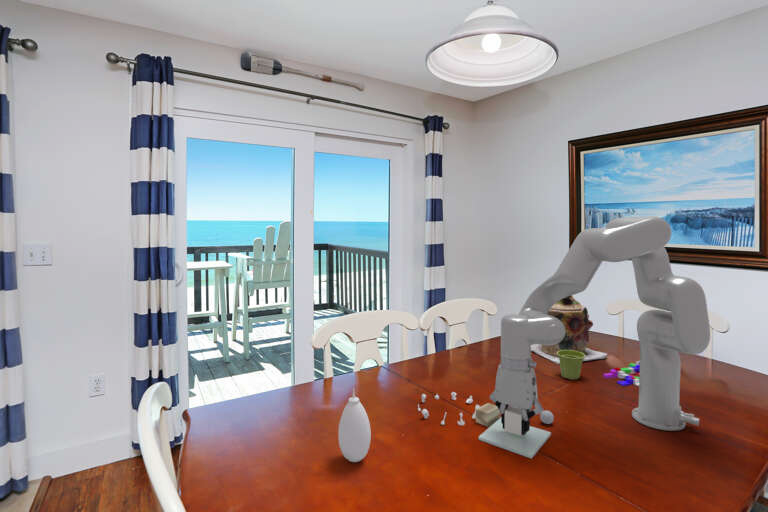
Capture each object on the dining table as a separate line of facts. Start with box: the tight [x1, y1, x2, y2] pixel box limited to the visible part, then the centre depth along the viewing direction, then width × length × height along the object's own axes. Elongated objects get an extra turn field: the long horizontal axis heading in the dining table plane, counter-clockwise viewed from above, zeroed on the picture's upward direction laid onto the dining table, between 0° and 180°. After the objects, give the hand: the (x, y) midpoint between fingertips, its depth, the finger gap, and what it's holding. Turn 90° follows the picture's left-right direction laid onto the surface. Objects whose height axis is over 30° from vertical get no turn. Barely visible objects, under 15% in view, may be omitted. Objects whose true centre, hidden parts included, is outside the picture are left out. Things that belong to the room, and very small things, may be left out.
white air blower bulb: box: [337, 387, 372, 463], centre depth 98 cm, size 8×8×18 cm
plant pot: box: [557, 350, 585, 380], centre depth 149 cm, size 9×9×9 cm
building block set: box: [602, 360, 640, 387], centre depth 147 cm, size 25×20×4 cm
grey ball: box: [539, 409, 555, 425], centre depth 115 cm, size 4×4×4 cm
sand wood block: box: [475, 402, 501, 428], centre depth 117 cm, size 4×6×4 cm, turn 131°
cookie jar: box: [531, 295, 608, 365], centre depth 175 cm, size 25×25×32 cm
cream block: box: [505, 405, 523, 436], centre depth 108 cm, size 4×4×6 cm
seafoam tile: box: [478, 417, 552, 459], centre depth 108 cm, size 14×14×1 cm
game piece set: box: [417, 391, 481, 426], centre depth 124 cm, size 19×20×4 cm
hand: (515, 429), depth 108 cm, fingers closed on cream block, 4 cm apart
